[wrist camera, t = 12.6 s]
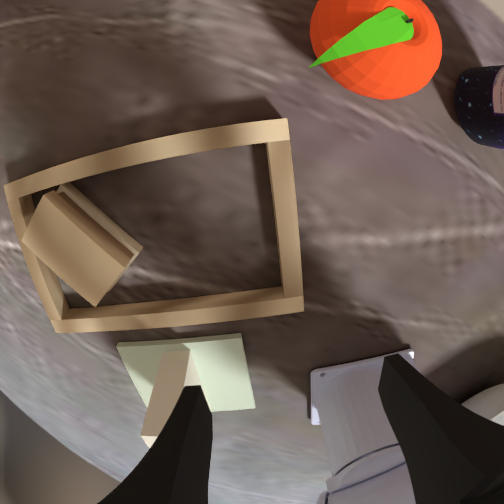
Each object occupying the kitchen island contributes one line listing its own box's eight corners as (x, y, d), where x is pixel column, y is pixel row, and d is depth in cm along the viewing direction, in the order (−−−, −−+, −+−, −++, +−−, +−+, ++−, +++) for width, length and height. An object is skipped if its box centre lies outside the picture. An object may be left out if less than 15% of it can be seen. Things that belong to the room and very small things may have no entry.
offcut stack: (69, 180, 18) (41, 192, 15) (144, 246, 20) (127, 270, 17) (45, 222, 19) (18, 240, 16) (114, 283, 21) (96, 311, 18)
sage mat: (240, 332, 23) (241, 337, 22) (255, 403, 26) (255, 408, 25) (118, 342, 23) (116, 346, 22) (151, 408, 26) (149, 412, 26)
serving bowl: (365, 451, 32) (378, 495, 25) (496, 339, 25) (529, 377, 19) (433, 464, 37) (445, 494, 31) (527, 383, 31) (547, 410, 24)
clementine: (324, 129, 17) (370, 135, 11) (260, 35, 15) (271, -12, 8) (420, 77, 16) (491, 69, 9) (365, -11, 13) (416, -55, 7)
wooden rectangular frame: (283, 118, 17) (287, 118, 16) (300, 298, 22) (304, 311, 20) (16, 180, 17) (3, 185, 16) (64, 321, 22) (56, 332, 21)
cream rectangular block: (190, 349, 23) (175, 436, 15) (210, 406, 25) (204, 483, 18) (163, 351, 23) (140, 435, 15) (186, 407, 25) (176, 483, 18)
